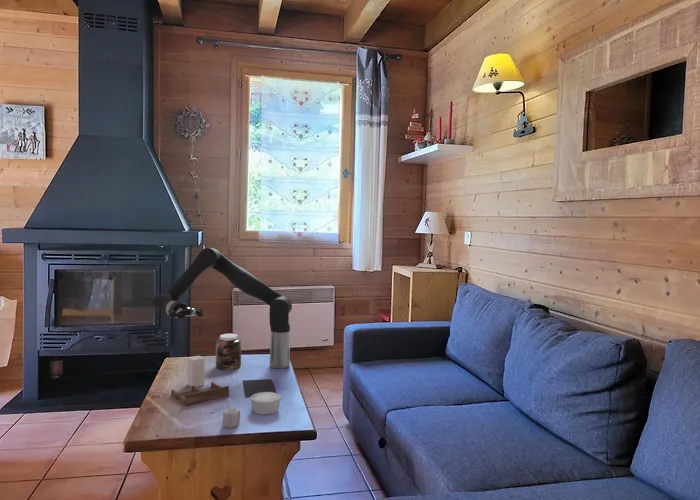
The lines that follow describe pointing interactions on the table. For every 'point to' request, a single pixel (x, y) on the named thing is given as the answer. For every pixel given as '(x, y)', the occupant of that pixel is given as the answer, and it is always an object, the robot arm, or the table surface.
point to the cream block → (196, 371)
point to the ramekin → (265, 403)
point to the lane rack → (201, 394)
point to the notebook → (257, 386)
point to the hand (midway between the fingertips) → (191, 315)
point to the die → (231, 417)
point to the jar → (228, 352)
